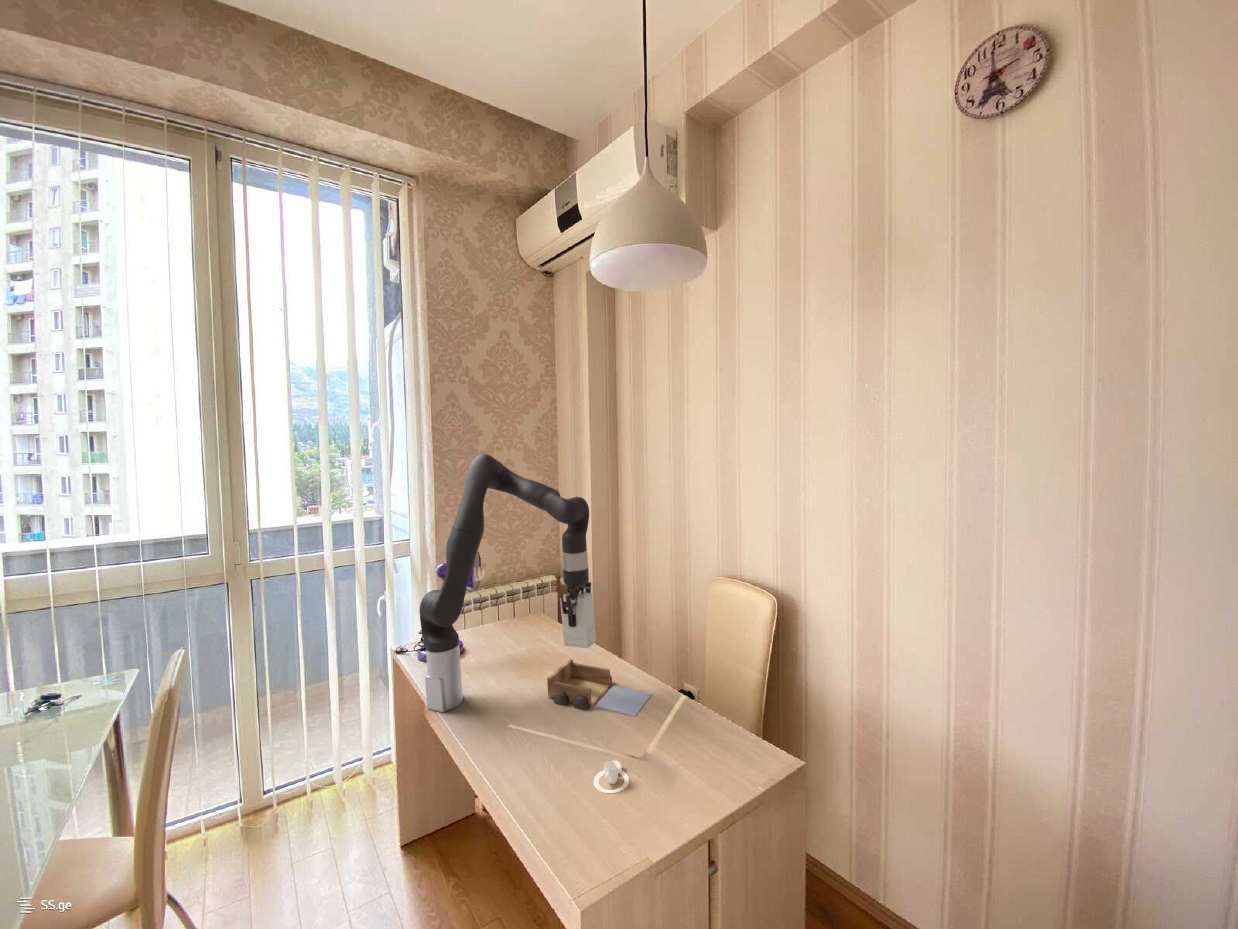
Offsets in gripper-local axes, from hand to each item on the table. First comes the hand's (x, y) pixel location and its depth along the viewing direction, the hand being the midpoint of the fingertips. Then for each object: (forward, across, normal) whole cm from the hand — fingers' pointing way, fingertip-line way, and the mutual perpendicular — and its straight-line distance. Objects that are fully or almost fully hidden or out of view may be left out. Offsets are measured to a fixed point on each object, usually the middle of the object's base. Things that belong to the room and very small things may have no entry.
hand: (578, 622), depth 149 cm
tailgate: (+21, 0, +8) cm, 23 cm away
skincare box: (+7, 0, 0) cm, 7 cm away
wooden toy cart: (+22, 0, +1) cm, 22 cm away
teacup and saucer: (+23, +28, +27) cm, 45 cm away
